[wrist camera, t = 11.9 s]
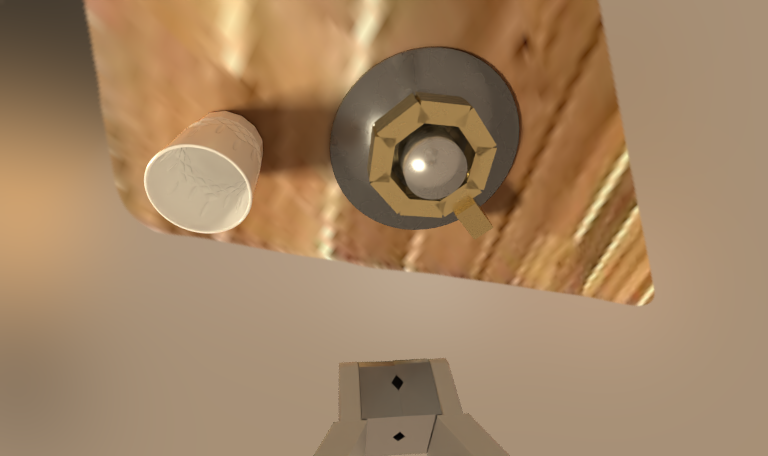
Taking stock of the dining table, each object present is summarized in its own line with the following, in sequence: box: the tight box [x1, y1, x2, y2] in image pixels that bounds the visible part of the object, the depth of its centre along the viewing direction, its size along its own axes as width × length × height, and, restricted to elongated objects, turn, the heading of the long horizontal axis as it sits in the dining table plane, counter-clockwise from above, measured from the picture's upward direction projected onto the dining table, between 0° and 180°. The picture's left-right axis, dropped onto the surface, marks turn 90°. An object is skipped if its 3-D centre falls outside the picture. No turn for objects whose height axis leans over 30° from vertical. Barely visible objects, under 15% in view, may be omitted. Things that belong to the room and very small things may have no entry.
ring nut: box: [367, 92, 497, 239], centre depth 39 cm, size 16×12×4 cm
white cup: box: [144, 111, 263, 233], centre depth 34 cm, size 8×8×10 cm
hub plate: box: [330, 47, 519, 230], centre depth 38 cm, size 20×20×5 cm
